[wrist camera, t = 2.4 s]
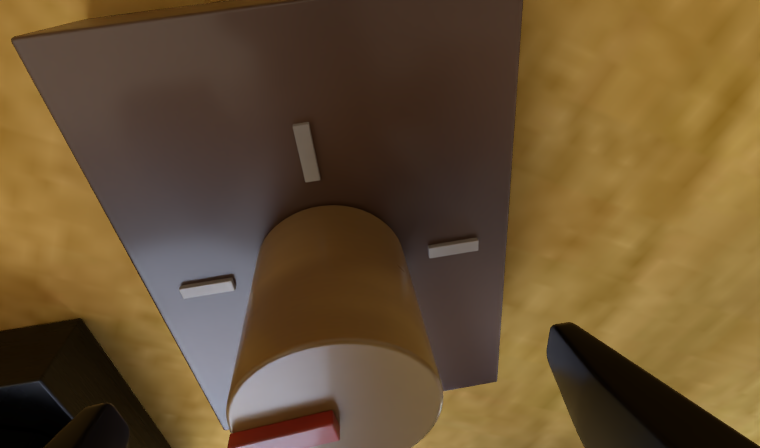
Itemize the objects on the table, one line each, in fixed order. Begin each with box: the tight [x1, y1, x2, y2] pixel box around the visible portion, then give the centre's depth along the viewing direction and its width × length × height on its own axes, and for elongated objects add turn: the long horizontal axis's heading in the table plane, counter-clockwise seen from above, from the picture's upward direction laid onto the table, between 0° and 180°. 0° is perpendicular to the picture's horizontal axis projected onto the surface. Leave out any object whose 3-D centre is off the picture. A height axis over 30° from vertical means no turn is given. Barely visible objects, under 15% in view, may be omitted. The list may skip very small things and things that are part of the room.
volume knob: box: [226, 205, 443, 448], centre depth 9 cm, size 4×4×5 cm
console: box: [11, 0, 523, 430], centre depth 13 cm, size 13×10×3 cm
